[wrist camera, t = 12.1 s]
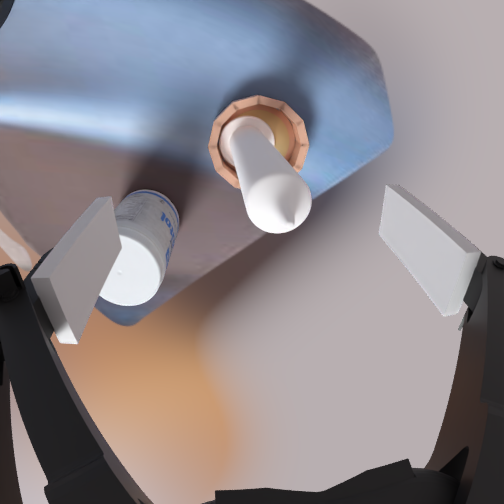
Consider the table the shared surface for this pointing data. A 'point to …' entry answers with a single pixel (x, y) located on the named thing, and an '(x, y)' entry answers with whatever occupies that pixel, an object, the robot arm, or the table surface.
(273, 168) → the candle
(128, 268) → the supplement tub
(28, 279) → the robot arm
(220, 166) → the jar dish
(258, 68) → the table surface
